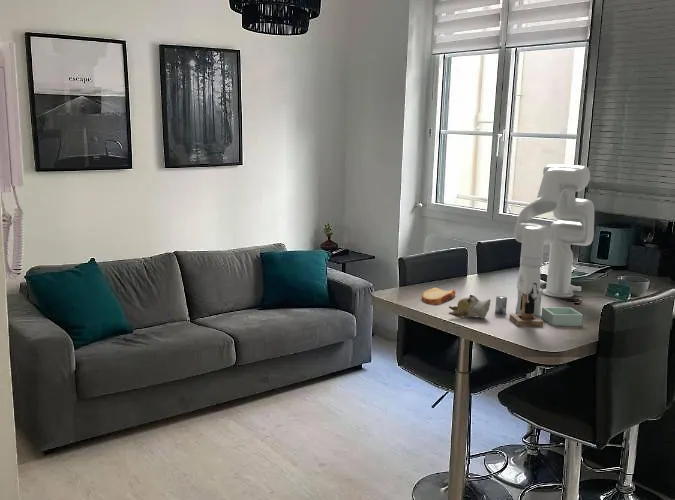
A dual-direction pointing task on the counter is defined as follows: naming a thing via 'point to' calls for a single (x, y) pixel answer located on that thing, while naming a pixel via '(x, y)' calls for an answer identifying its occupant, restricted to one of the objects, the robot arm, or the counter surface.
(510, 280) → the counter surface
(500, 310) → the bench dog
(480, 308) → the ceramic sculpture
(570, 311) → the tray
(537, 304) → the mug
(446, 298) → the slice of bread
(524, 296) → the dowel
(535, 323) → the socket block
